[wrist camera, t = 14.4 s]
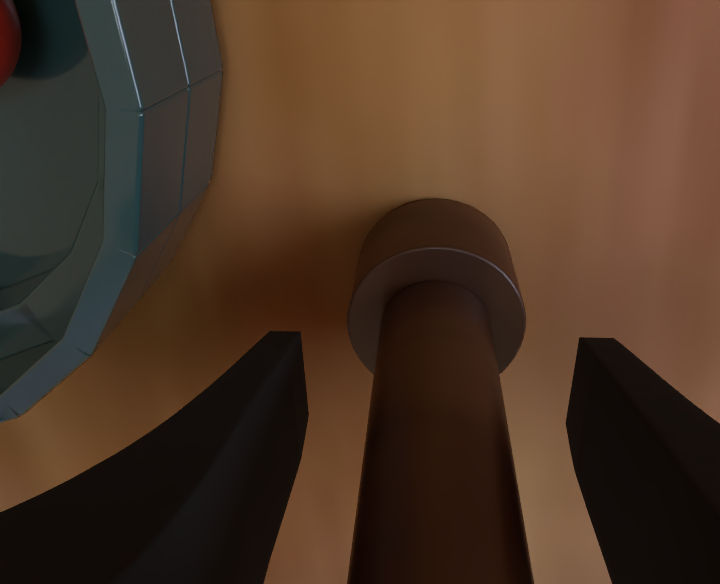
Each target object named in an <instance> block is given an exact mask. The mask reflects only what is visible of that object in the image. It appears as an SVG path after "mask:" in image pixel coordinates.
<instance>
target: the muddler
mask: <svg viewBox="0 0 720 584" xmlns="http://www.w3.org/2000/svg"><path fill="white" fill-rule="evenodd" d="M347 326H348V333H349V337H350V341H351V343H352V346H353V348H354V350H355V352H356V354H357V355H358V357H359V359H360V360H361V361H362V363H363V364H364V365H365V366H366V367H367V368H368V369H369V370H370V371H371V372H372V373H373V374H374V379H373V387H372V394H371V402H370V410H369V418H368V425H367V433H366V441H365V448H364V456H363V464H362V472H361V479H360V487H359V495H358V503H357V510H356V518H355V526H354V534H353V541H352V549H351V557H350V564H349V572H348V580H347V584H534V580H533V574H532V568H531V562H530V556H529V550H528V544H527V538H526V532H525V526H524V520H523V514H522V509H521V503H520V497H519V491H518V485H517V479H516V473H515V467H514V461H513V455H512V449H511V443H510V437H509V431H508V425H507V419H506V413H505V407H504V401H503V395H502V389H501V383H500V377H499V374H500V373H502V372H503V371H504V370H505V369H506V367H507V366H508V365H509V364H510V363H511V361H512V360H513V359H514V357H515V356H516V354H517V352H518V350H519V348H520V346H521V343H522V341H523V338H524V333H525V328H526V314H525V307H524V303H523V300H522V296H521V292H520V289H519V285H518V281H517V277H516V274H515V270H514V266H513V263H512V259H511V255H510V252H509V248H508V245H507V242H506V240H505V238H504V236H503V234H502V233H501V231H500V230H499V228H498V227H497V226H496V225H495V224H494V222H493V221H491V220H490V219H489V218H488V217H487V216H486V215H484V214H483V213H481V212H480V211H478V210H477V209H475V208H473V207H471V206H469V205H466V204H463V203H460V202H457V201H452V200H447V199H425V200H419V201H415V202H411V203H408V204H405V205H403V206H401V207H399V208H396V209H395V210H393V211H392V212H390V213H388V214H387V215H386V216H385V217H383V218H382V219H381V220H380V221H379V222H378V223H377V224H376V225H375V226H374V227H373V229H372V230H371V231H370V233H369V234H368V236H367V238H366V240H365V242H364V244H363V247H362V250H361V254H360V258H359V263H358V267H357V272H356V276H355V280H354V285H353V289H352V294H351V298H350V302H349V307H348V313H347Z"/></svg>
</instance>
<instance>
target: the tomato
mask: <svg viewBox="0 0 720 584" xmlns="http://www.w3.org/2000/svg"><path fill="white" fill-rule="evenodd" d="M21 43H22V34H21V24H20V20H19V16H18V12H17V9H16V6H15V4H14V2H13V0H0V87H1V86H3V85H4V83H5V82H6V81H7V80H8V78H9V77H10V76H11V74H12V73H13V71H14V69H15V67H16V64H17V62H18V59H19V55H20V50H21Z"/></svg>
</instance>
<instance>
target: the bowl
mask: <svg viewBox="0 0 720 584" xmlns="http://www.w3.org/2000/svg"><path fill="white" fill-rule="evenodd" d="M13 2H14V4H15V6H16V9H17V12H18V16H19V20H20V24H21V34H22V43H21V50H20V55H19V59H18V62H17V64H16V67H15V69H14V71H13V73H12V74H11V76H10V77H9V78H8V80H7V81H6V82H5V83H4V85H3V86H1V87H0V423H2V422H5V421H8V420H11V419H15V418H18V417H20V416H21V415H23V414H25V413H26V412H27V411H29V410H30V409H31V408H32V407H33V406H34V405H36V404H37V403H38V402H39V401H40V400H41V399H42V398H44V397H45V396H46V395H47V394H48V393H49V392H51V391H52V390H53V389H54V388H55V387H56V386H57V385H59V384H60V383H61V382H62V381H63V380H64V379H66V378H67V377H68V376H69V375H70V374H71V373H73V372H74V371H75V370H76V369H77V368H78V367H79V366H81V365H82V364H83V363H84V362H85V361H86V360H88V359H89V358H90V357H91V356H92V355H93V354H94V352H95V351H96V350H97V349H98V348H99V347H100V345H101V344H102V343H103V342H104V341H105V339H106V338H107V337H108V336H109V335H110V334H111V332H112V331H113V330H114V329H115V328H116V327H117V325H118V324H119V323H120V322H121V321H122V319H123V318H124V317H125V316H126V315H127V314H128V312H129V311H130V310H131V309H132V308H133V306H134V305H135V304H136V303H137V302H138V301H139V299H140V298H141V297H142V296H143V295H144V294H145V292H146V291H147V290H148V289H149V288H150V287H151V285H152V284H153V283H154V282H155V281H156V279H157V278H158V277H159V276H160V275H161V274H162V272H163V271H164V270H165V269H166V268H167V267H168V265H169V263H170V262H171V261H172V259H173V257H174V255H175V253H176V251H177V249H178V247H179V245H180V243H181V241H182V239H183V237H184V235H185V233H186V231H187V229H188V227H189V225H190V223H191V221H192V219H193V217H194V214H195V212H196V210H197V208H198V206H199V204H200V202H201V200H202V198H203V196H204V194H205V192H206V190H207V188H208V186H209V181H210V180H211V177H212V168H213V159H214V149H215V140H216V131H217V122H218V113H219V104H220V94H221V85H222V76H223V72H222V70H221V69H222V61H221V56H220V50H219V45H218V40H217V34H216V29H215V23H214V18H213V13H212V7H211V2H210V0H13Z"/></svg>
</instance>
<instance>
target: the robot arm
mask: <svg viewBox="0 0 720 584" xmlns="http://www.w3.org/2000/svg"><path fill="white" fill-rule="evenodd" d="M308 415H309V412H308V402H307V392H306V382H305V372H304V362H303V352H302V342H301V332H292V331H270V332H268V333H267V334H266V335H265V336H264V337H263V338H262V339H261V340H260V341H258V342H257V343H256V344H255V345H254V346H253V347H252V348H251V349H250V350H249V351H248V352H247V353H246V354H244V355H243V356H242V357H241V358H240V359H239V360H238V361H237V362H236V363H235V364H234V365H233V366H232V367H230V368H229V369H228V370H227V371H226V372H225V373H224V374H223V375H222V376H220V377H219V378H218V379H217V380H216V381H215V382H214V383H213V384H211V385H210V386H209V387H208V388H207V389H205V390H204V391H203V392H202V393H200V394H199V395H198V396H197V397H195V398H194V399H193V400H192V401H190V402H189V403H188V404H187V405H185V406H184V407H183V408H182V409H180V410H179V411H178V412H177V413H176V414H174V415H173V416H172V417H170V418H169V419H168V420H166V421H165V422H163V423H162V424H161V425H159V426H158V427H156V428H155V429H154V430H152V431H151V432H149V433H148V434H146V435H145V436H143V437H141V438H140V439H138V440H137V441H135V442H134V443H132V444H131V445H129V446H128V447H126V448H125V449H123V450H121V451H120V452H118V453H116V454H115V455H113V456H111V457H109V458H107V459H106V460H104V461H102V462H100V463H99V464H97V465H95V466H93V467H91V468H90V469H88V470H86V471H84V472H83V473H81V474H79V475H77V476H75V477H74V478H72V479H70V480H68V481H66V482H64V483H62V484H60V485H58V486H56V487H54V488H52V489H50V490H48V491H46V492H44V493H42V494H40V495H38V496H36V497H33V498H31V499H29V500H27V501H25V502H23V503H20V504H18V505H16V506H14V507H12V508H9V509H7V510H5V511H2V512H0V584H263V583H264V580H265V576H266V572H267V568H268V564H269V561H270V557H271V554H272V551H273V548H274V545H275V541H276V538H277V535H278V532H279V529H280V526H281V522H282V519H283V516H284V513H285V510H286V506H287V503H288V500H289V497H290V494H291V490H292V487H293V484H294V481H295V477H296V474H297V471H298V467H299V464H300V461H301V456H302V451H303V445H304V440H305V434H306V428H307V422H308ZM566 428H567V433H568V439H569V445H570V450H571V455H572V460H573V465H574V470H575V473H576V477H577V480H578V483H579V486H580V489H581V492H582V495H583V498H584V501H585V504H586V507H587V510H588V513H589V516H590V519H591V522H592V525H593V528H594V531H595V534H596V537H597V540H598V543H599V546H600V549H601V552H602V555H603V557H604V560H605V563H606V566H607V569H608V572H609V575H610V578H611V581H612V584H720V424H719V423H718V422H717V421H715V420H714V419H713V418H711V417H710V416H709V415H707V414H706V413H705V412H703V411H702V410H701V409H699V408H698V407H697V406H696V405H694V404H693V403H692V402H691V401H689V400H688V399H687V398H685V397H684V396H683V395H682V394H681V393H679V392H678V391H677V390H676V389H674V388H673V387H672V386H671V385H669V384H668V383H667V382H666V381H665V380H663V379H662V378H661V377H660V376H659V375H657V374H656V373H655V372H654V371H653V370H652V369H650V368H649V367H648V366H647V365H646V364H644V363H643V362H642V361H641V360H640V359H639V358H637V357H636V356H635V355H634V354H633V353H632V352H630V351H629V350H628V349H627V348H626V347H624V346H623V345H622V344H621V343H619V342H618V341H617V340H615V339H614V338H582V337H579V343H578V350H577V356H576V362H575V368H574V375H573V381H572V387H571V393H570V400H569V406H568V412H567V418H566Z"/></svg>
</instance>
